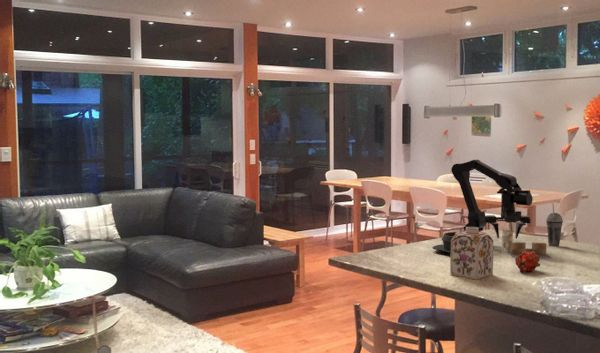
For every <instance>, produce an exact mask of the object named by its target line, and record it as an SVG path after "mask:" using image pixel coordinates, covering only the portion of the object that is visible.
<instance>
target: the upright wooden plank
mask: <svg viewBox="0 0 600 353" xmlns="http://www.w3.org/2000/svg"><path fill="white" fill-rule="evenodd" d="M501 230H502V231H501V232H502V233H501V246H502V247H503V248H505V250H507V251H511V244H512V242H514V241H513V237H514V236H513V235H514V232H513V231H512V230H511V229H509V228H508V227H507V226H506V227H502V228H501Z"/></svg>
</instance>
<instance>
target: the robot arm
mask: <svg viewBox="0 0 600 353" xmlns="http://www.w3.org/2000/svg"><path fill="white" fill-rule="evenodd" d="M474 170H475V171H478V172H479V173H481V174H483V175H484V176H486V177H488V178H490V179H492V180H493V181H494V182H495V183H496V185H498V187H500V189H499V190H498V191H496V194H498V195H499V194H500V195H501V196H500V197H501V199H500V200H501V201H500V202H501V203H500V204H501V205H500V210H501V211H500V216H496V215H491V214H490V215H487V214H486V213H485V211H484V210H483V211H482V210H480V208H479V205H478V203H477V200H476V197H475V193H474V190H473V188H472V184H471V181H470V177H471V172H472V171H474ZM450 171H451V173H452V175H453V178H454V179H455V180H456V181H457V183H458V184H459V186H460V187H459V188H460V189H461V193H462V196H463V199H464V201H465V204H466V205H465V206H466V208H467V212H468V213H467V223H466V224H465V225H464V226H463V231H466V227H477V228H479V231H480V232H484V228H485V227H486V226H487V224H490V225H491V226H493V229H494V232H495V234H496V237H497V239H500V233H499V225H500V224H499V223H498V222H505V223H515V237H514V238H515V239H518V237H519V234H520V232H521V229H522V228H523V226H526V224H531V217H529V215H522V211H521V210H519V211H518V210H517V211H516V205H517V206H525V207H527V206H529V207H530V206H532V203H533V200H534V198H533V195H532V193H531V190H529V189H528V190H527V189H526V190H524V189H522V187H521V186H520V185H519V183H518V180H517V178H516V176H513V175H511V174H508V173H505V172H504V173H503V172H501V171H498V170H497V169H495V168H493V167H491V166H489V165H487V164H486V163H484V162H483V161H481V160H479V159H471V160H469V161H466V162H463V163H461V162H460V163H455V164H453V165H452V166H451V170H450Z"/></svg>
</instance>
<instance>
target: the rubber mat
mask: <svg viewBox="0 0 600 353" xmlns="http://www.w3.org/2000/svg"><path fill="white" fill-rule="evenodd" d="M506 253H507V254H508V255H509V256H511V257H512V258H514V259H516V257H517V256H518V255H512V254H511V251H506ZM538 256H539V259H553V257H552V256H550V255H549V254H547V253H546V255H538Z"/></svg>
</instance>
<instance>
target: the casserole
mask: <svg viewBox="0 0 600 353" xmlns="http://www.w3.org/2000/svg"><path fill="white" fill-rule="evenodd" d="M457 232H458V231H451V232H445V233H443V236H442V237H441V238H440V239H441V241H442V244H436V245H434V246H432V249H433V250H435V251H440V252H444V253H447V254H449V255H451V240H452V238H453V236H454V235H455V234H456V233H457Z"/></svg>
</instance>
